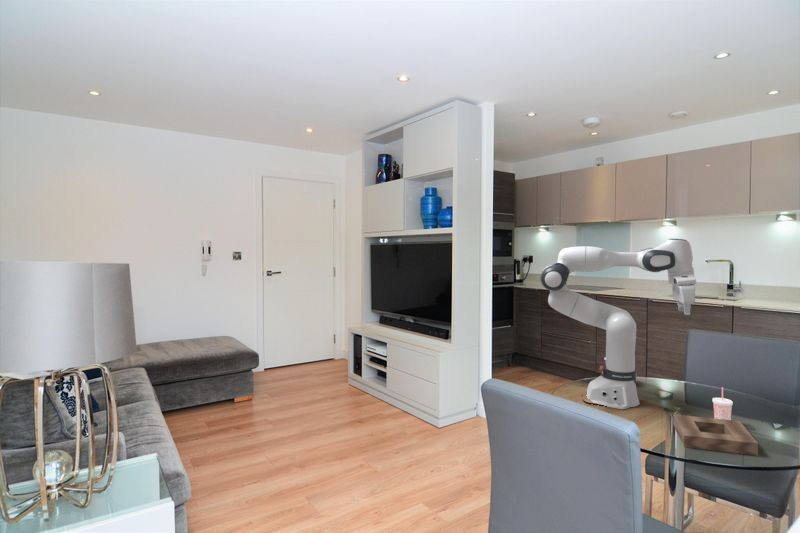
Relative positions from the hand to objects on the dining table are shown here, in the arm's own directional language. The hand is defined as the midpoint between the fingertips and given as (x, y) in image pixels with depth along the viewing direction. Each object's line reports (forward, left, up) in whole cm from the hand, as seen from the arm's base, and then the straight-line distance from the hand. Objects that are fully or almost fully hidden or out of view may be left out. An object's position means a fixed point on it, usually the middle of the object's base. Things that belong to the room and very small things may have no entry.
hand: (684, 312), depth 176 cm
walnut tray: (+3, -29, -39) cm, 48 cm away
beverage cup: (+9, -14, -39) cm, 43 cm away
